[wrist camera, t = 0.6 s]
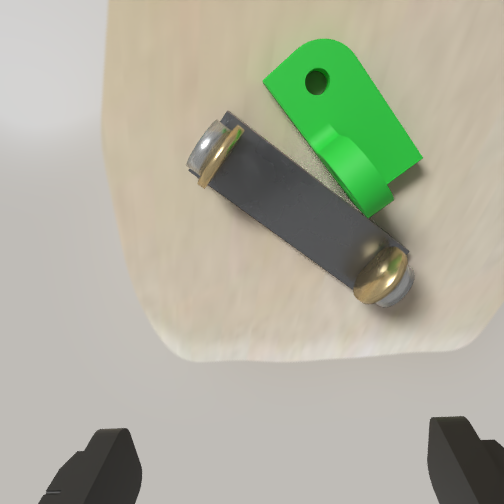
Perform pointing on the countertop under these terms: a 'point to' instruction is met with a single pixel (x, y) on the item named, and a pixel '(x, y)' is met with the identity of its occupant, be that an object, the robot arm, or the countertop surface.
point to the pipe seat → (301, 211)
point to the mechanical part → (345, 122)
